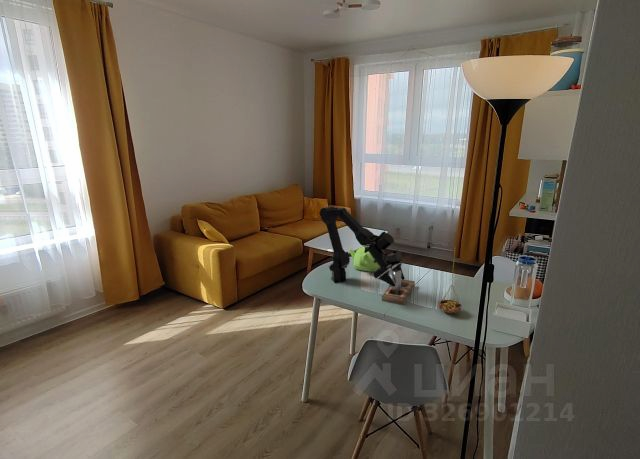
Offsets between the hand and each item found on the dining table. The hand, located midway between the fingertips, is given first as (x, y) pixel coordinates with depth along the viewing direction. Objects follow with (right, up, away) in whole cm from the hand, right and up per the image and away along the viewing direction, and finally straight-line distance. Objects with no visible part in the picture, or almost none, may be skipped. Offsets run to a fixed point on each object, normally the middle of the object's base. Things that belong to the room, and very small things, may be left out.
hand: (399, 282), depth 156 cm
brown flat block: (+1, -6, +7) cm, 9 cm away
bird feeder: (+19, -11, -11) cm, 24 cm away
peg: (-1, -7, +3) cm, 8 cm away
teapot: (-11, +2, +39) cm, 41 cm away
